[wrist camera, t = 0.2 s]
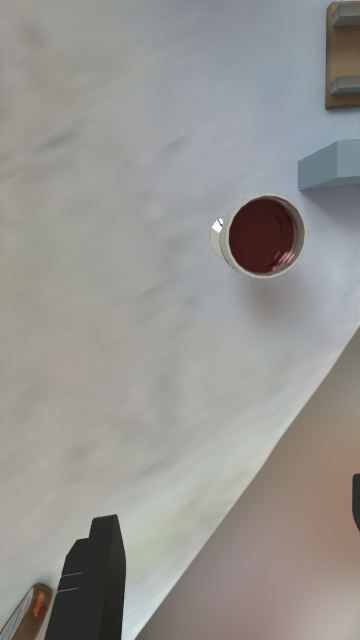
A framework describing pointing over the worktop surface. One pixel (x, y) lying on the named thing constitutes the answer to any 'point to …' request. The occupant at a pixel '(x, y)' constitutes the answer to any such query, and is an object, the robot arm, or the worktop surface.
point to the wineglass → (261, 235)
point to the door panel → (331, 166)
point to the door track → (343, 55)
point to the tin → (28, 615)
